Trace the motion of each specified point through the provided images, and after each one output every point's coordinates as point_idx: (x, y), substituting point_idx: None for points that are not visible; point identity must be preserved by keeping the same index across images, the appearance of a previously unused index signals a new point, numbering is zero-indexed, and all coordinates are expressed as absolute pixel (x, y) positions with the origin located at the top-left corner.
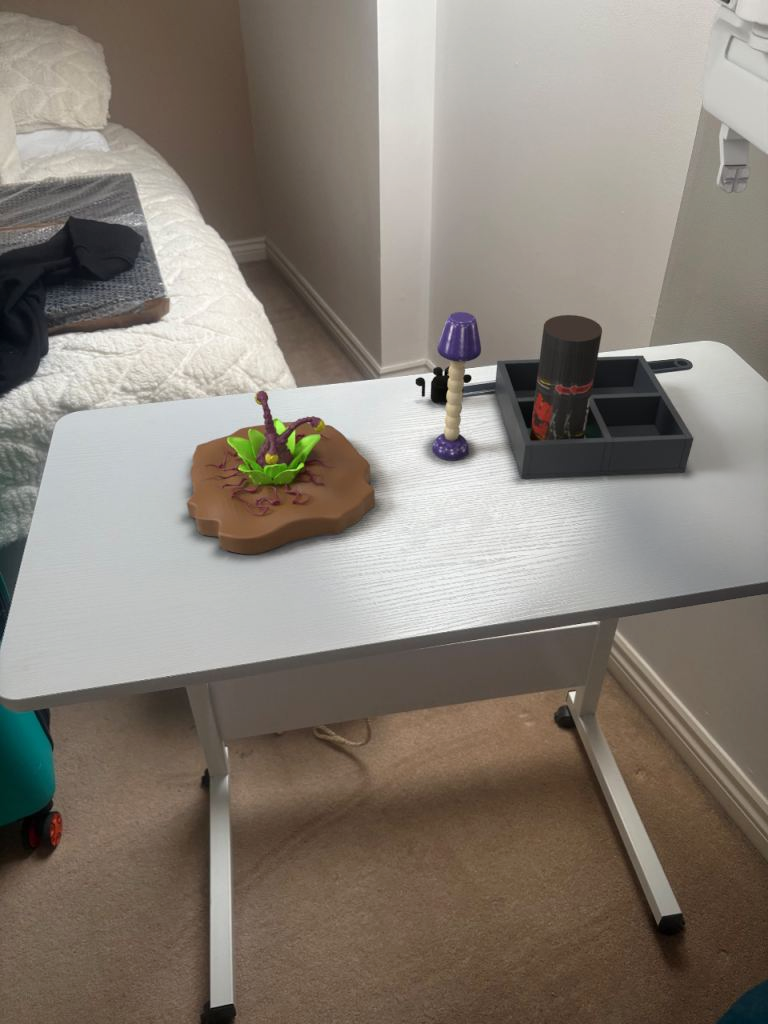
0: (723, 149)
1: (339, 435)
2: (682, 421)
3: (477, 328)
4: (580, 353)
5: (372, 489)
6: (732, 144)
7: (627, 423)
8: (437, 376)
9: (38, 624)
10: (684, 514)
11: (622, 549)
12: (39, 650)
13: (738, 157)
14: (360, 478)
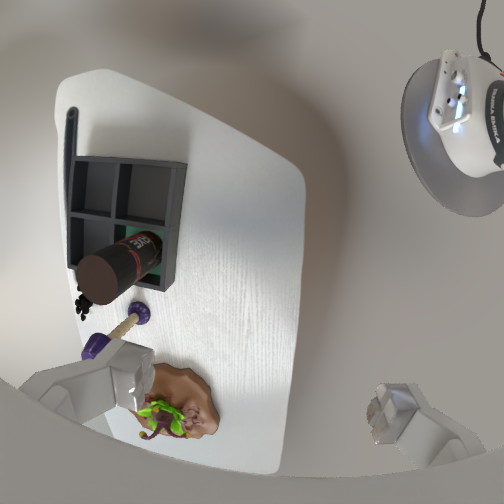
0: (89, 419)
1: None
2: (155, 161)
3: (94, 347)
4: (123, 279)
5: (185, 375)
6: (78, 410)
7: (129, 185)
8: (83, 312)
9: (245, 469)
10: (232, 186)
11: (257, 246)
12: (258, 469)
13: (99, 389)
14: (176, 379)
